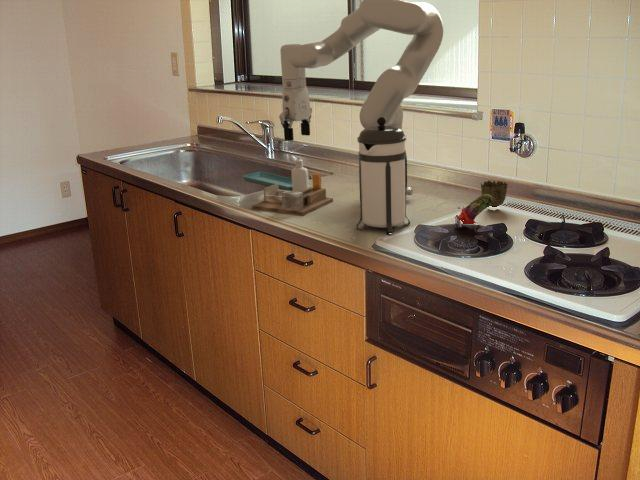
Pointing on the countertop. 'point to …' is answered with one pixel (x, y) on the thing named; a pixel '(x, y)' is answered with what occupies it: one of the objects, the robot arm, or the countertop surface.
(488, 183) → the green flared piece
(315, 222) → the countertop surface
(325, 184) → the countertop surface
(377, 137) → the coffee press
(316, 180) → the shaft
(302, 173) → the eye dropper bottle
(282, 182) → the shallow long dish
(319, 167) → the countertop surface
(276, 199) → the rail board
